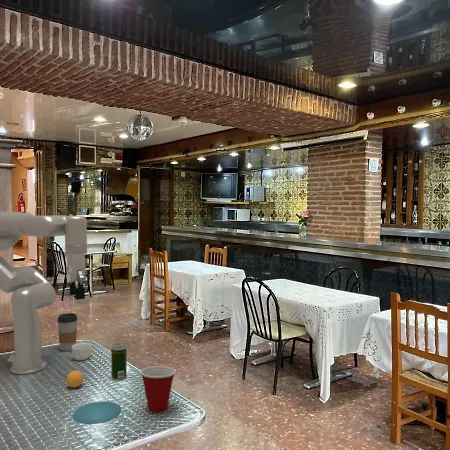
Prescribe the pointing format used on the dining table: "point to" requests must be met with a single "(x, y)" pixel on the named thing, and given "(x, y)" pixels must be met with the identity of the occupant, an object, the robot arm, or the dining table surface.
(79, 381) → the ball
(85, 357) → the teacup
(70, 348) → the coffee cup
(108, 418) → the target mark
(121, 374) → the green soda can
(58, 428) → the dining table surface
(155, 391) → the plastic cup
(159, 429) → the dining table surface
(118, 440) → the dining table surface
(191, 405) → the dining table surface
